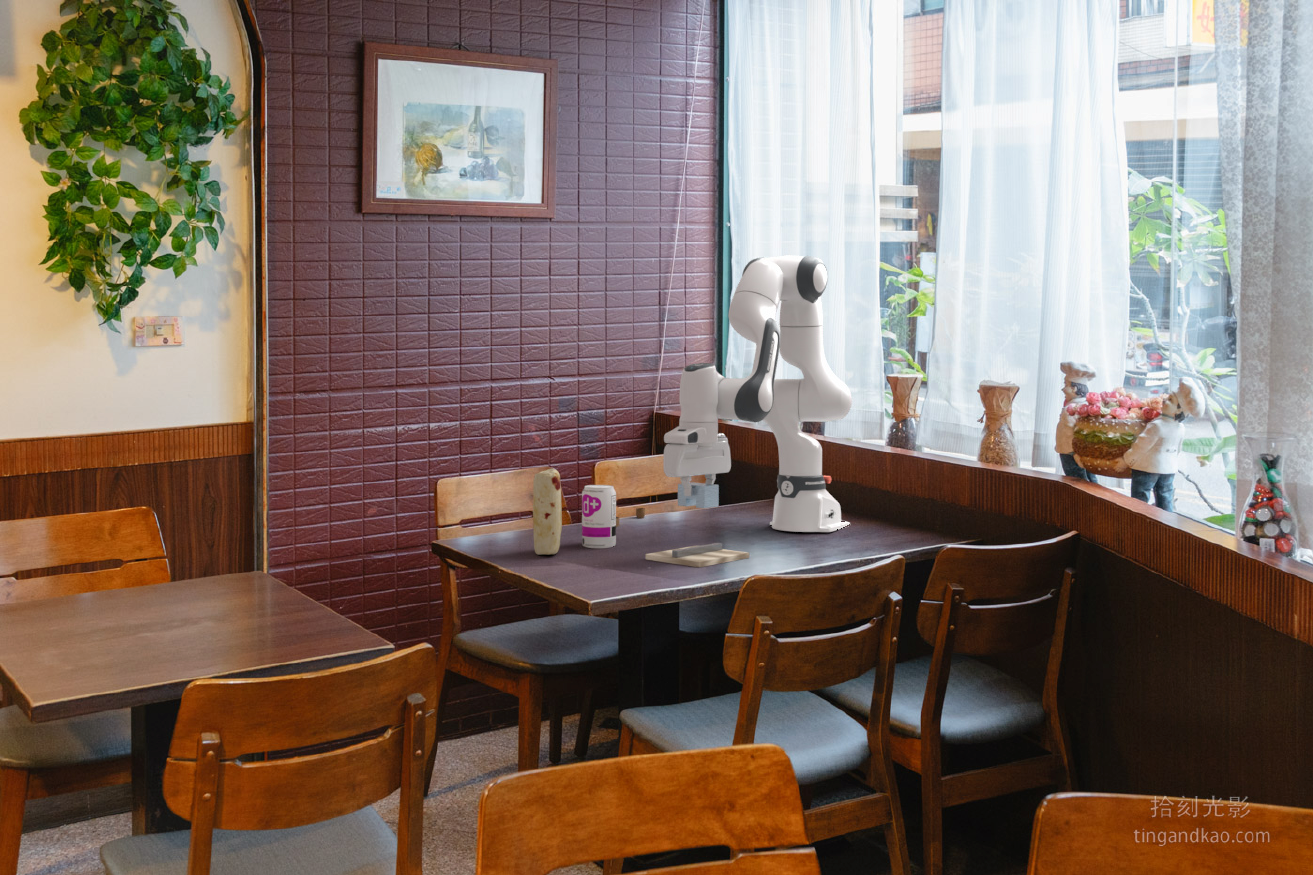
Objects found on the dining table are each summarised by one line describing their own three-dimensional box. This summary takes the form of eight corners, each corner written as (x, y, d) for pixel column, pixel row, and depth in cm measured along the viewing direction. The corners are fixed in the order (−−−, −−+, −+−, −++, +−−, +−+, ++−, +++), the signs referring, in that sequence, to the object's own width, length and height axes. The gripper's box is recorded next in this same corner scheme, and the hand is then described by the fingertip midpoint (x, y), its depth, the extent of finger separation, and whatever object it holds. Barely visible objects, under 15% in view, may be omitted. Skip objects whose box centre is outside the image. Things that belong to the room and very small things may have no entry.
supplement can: (599, 551, 285) (599, 488, 284) (575, 547, 290) (575, 486, 289) (622, 547, 291) (622, 486, 290) (598, 544, 296) (598, 483, 295)
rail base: (696, 550, 287) (696, 545, 287) (749, 557, 276) (749, 552, 276) (645, 559, 274) (645, 554, 273) (699, 567, 263) (699, 562, 263)
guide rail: (717, 549, 281) (717, 542, 281) (722, 549, 280) (722, 543, 280) (672, 557, 269) (672, 550, 269) (677, 557, 268) (677, 551, 268)
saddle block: (691, 503, 279) (691, 482, 278) (718, 506, 273) (718, 484, 273) (677, 505, 275) (677, 483, 275) (704, 508, 269) (704, 486, 269)
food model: (564, 556, 277) (564, 470, 276) (535, 557, 275) (535, 471, 274) (559, 550, 286) (559, 467, 285) (531, 551, 285) (531, 467, 284)
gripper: (716, 432, 283) (716, 490, 284) (658, 435, 268) (658, 496, 268) (737, 433, 279) (737, 492, 279) (680, 436, 263) (679, 499, 264)
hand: (698, 494), depth 274 cm, fingers closed on saddle block, 5 cm apart
